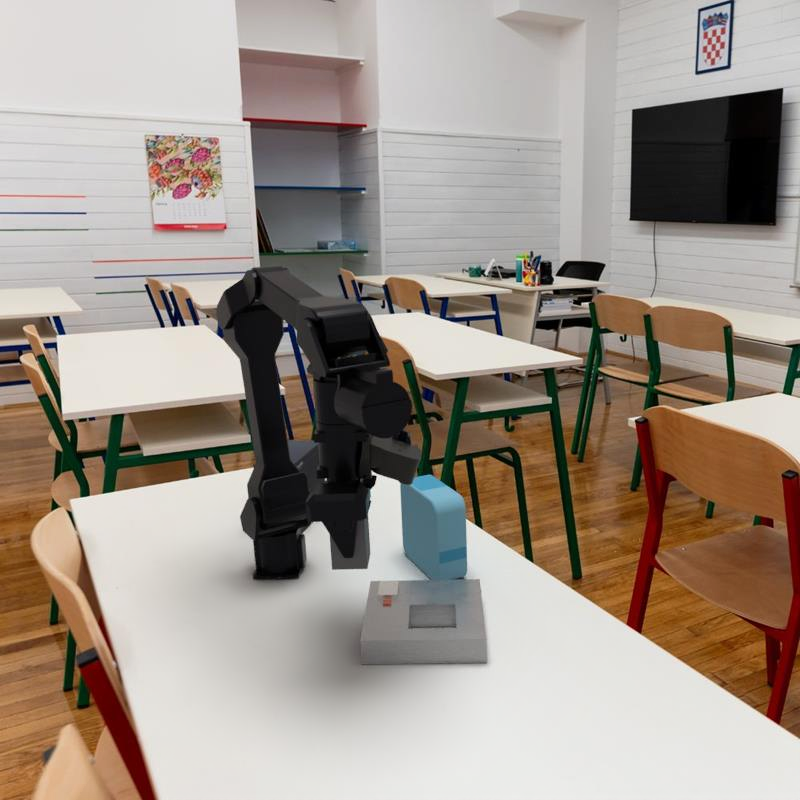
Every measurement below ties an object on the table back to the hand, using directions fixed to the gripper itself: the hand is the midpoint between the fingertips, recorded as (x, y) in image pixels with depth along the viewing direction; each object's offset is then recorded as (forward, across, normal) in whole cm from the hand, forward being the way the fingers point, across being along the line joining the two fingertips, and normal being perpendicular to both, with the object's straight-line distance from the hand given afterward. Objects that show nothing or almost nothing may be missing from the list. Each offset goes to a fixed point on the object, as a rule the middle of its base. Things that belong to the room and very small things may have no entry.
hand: (350, 549), depth 89 cm
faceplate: (+12, +2, -8) cm, 14 cm away
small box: (+12, +37, +14) cm, 41 cm away
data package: (+12, +19, -9) cm, 24 cm away
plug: (+2, 0, 0) cm, 2 cm away
